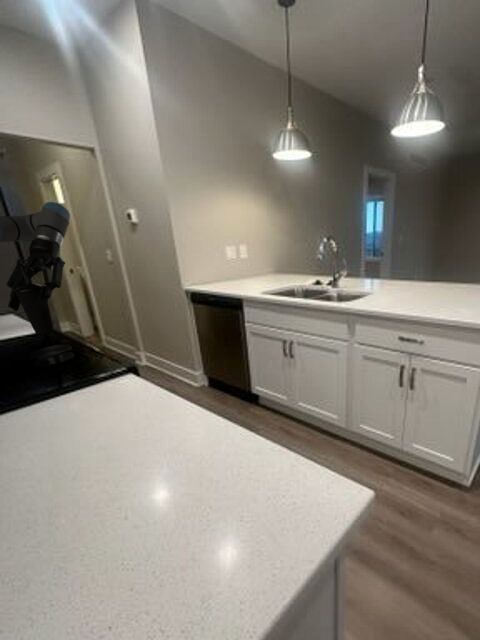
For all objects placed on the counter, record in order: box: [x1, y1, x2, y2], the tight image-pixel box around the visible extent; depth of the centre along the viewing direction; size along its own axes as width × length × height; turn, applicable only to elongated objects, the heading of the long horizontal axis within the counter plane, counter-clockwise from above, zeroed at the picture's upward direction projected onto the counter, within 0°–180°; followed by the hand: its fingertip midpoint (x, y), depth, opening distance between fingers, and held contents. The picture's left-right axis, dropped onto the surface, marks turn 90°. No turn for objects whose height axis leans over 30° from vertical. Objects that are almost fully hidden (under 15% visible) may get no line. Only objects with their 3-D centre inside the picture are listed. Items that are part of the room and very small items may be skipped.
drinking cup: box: [13, 266, 55, 335], centre depth 103 cm, size 8×8×20 cm
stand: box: [30, 344, 76, 370], centre depth 110 cm, size 11×11×4 cm
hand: (26, 307), depth 101 cm, fingers closed on drinking cup, 8 cm apart
